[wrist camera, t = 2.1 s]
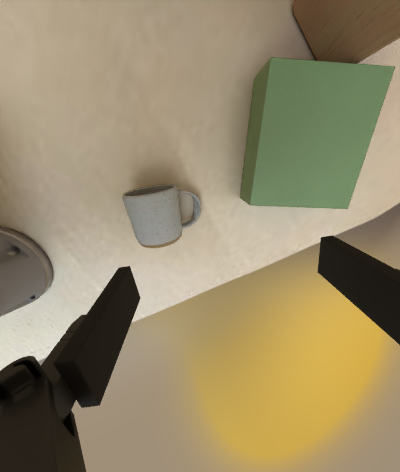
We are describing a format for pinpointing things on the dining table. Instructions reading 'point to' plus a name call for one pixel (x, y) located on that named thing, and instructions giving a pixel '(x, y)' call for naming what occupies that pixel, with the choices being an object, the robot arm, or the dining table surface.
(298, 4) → the wooden block
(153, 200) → the ceramic mug
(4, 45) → the dining table surface
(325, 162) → the green block
